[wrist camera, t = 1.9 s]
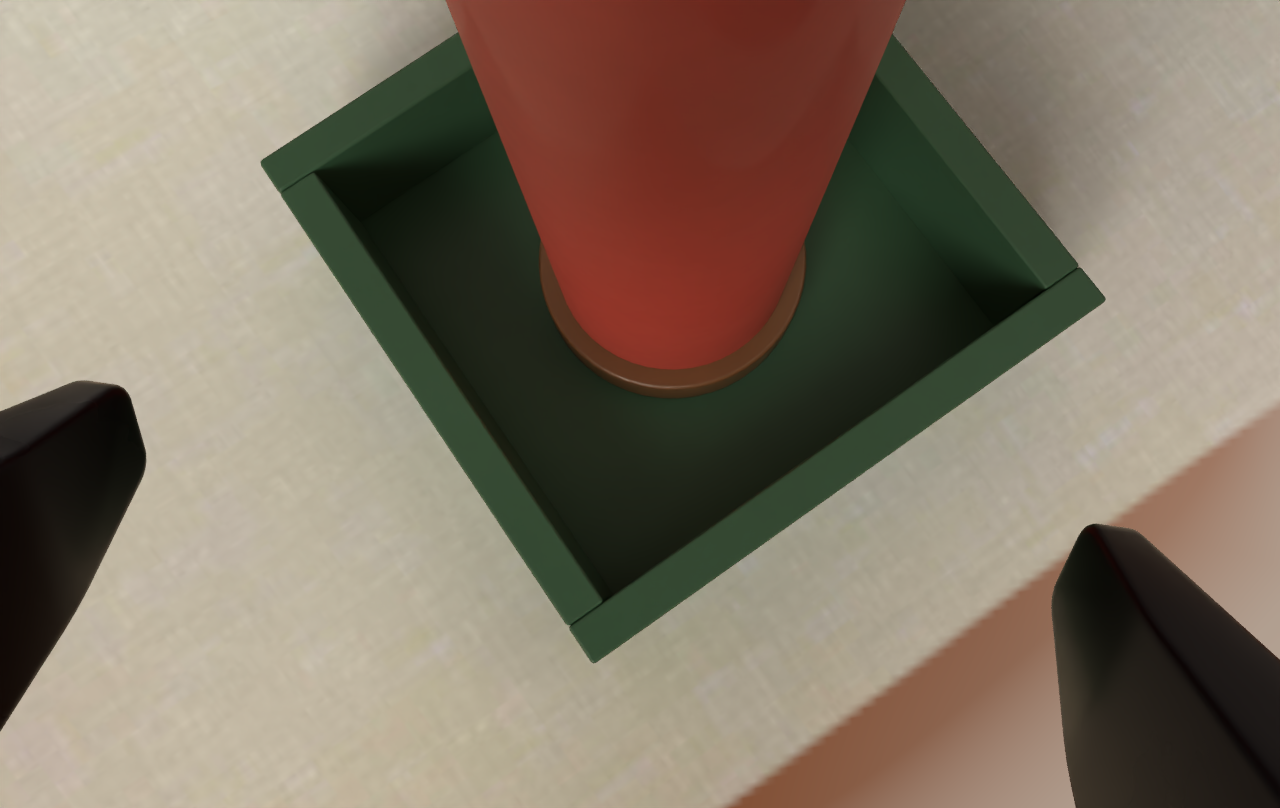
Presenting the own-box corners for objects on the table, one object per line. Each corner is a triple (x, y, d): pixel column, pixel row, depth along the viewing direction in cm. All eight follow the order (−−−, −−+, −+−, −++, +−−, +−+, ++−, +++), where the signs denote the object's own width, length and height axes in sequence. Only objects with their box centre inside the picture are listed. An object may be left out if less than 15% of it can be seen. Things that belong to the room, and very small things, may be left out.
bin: (1036, 342, 22) (1108, 298, 18) (605, 647, 21) (592, 665, 17) (730, -46, 23) (742, -155, 20) (321, 223, 23) (256, 160, 19)
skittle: (822, 375, 21) (1276, -176, 5) (566, 419, 21) (264, 2, 5) (772, 134, 22) (1036, -949, 6) (527, 176, 22) (168, -794, 6)
